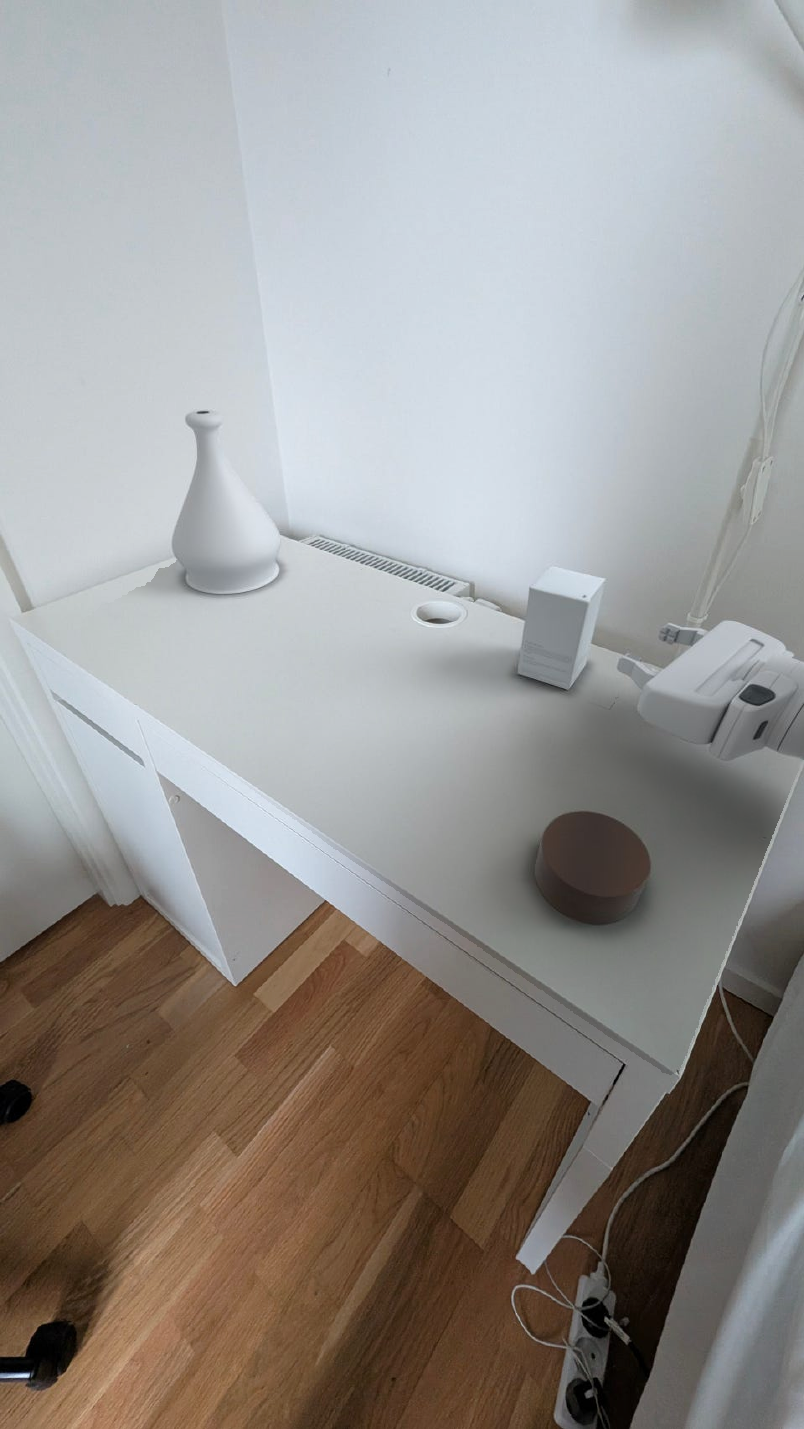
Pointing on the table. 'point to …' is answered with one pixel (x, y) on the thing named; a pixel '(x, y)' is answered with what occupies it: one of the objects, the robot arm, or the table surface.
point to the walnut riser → (591, 867)
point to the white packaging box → (559, 626)
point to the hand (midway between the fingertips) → (642, 644)
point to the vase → (222, 522)
